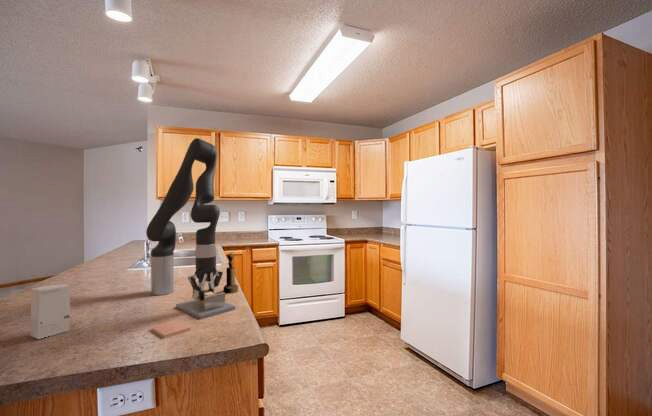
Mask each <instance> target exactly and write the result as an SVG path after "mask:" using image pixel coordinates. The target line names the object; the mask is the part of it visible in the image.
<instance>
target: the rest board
mask: <svg viewBox="0 0 652 416" xmlns="http://www.w3.org/2000/svg"><path fill="white" fill-rule="evenodd" d="M175 307H176V309H179V310H181V311H183V312H184V313H187V314H189V315H191V316H193V317H195V318H198V319H200V320H204V319H206V318H209V317H214V316H217V315H220V314H224V313H228V312H231V311H234V310H236V305H234V304H231V303H228V302H225V306H221V307H218V308H214V309H210V310H207V311H205V310H204V305H203V304H202V303H200V302H198V301H196V300H195V299H193V300H189V301H183V302H180V303H175Z"/></svg>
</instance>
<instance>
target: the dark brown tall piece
mask: <svg viewBox="0 0 652 416" xmlns="http://www.w3.org/2000/svg"><path fill="white" fill-rule="evenodd" d="M234 258H235V254H234V253H233V252H229V253H227V259H228V263H227V264H228V267H226V285H223V292H224V293H225V294H233V293H237V292H238V291H239V285H237V284H236V267H234V261H233V260H234ZM223 292H222V293H223Z"/></svg>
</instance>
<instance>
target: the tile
mask: <svg viewBox="0 0 652 416" xmlns="http://www.w3.org/2000/svg"><path fill="white" fill-rule="evenodd" d="M150 329H151V331H152V332H154V333H156V334H157V335H158V336H160V337H161V338H162V339H167V338H169V337H174V336H177V335H180V334H183V333H186V332H189V331H191V327H190V326H189V325H187V324H186V323H183V322H182V321H181V322H180V321H179V320H177V319H175V320H172V321H168V322H163V323H160V324H157V325H153V326H151V328H150Z"/></svg>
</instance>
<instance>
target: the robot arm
mask: <svg viewBox="0 0 652 416" xmlns="http://www.w3.org/2000/svg"><path fill="white" fill-rule="evenodd" d="M217 159H218V149H217V147H216V145H214V144H213V143H210V142H208V141H206V140H203V139H201V138H198V137H195V138H193V140H191V142H190V144H189V146H188V148H187V151H186V152H185V155H184V157H183V160H182V163H181V165H180V167H179V169H178V172H177V174H176V175H175V177H174V179H173V181H172V183H170V184H171V185H170V186H169V187H168V188H169V189H168V190H167V193H166V194H165V197H164V199H163V200H162V203H161V204H160V206H159V208H158V210H157V211H156V213H155V214H154V216H153V218H152V219H151V220H150V222H149V223H148V225H147V228H146V231H145V232H146V237H147V239H148V240H149V241H150V242H157V243H158V244H157V245H156V246H155V247H154V248H152V249H151V251H150V294H151V295H153V296H163V295H168V294H172V293H174V283H175V282H174V281H175V280H174V279H175V278H174V275H175V274H174V273H175V272H174V269H175V268H174V253H175V252H174V251H175V248H176V240H177V239H176V238H177V229H176V225H175V223H173V222H172V221H170V220H171V219H172V218H173V217H174V215H175V214H177V213H178V212H179V211H180V210H181V209H183V208H184V207H185V205H186V204H187V203H188V202H189V200H190V199H191V196H192V194H193V192H194V179H193V175H192V174H193V172H192V171H193V170H192V168H193V164H194V162H195V161H197V162H199V163H202V164H204V165H205V170H204V171H203V172H202V173H201V174H200V175H199V176H198V178H197V179H196V182H195V197H194V198H195V200H194V202H193V205H192V208H191V210H190V219H191V220H192V222H194V223H197V224H198V223H200V224H201V223H209V225H208V226H207V227H203V228H200V229H196V232H195V252H194V253H195V254H194V255H195V272H194V274H192V275H190V276H188V277H187V279H188V281H189V283H190V285H191V287H192V290H193V289H194V290H196V291H198V296H199V297H198V298H199V299H200V300H201V301H204V291H203V290H204V288H205V285H206V283H207V287H208V289H207V290H209V291H211V292H213V293H215V288H216V287H219V284H220V282H221V279H222V277H223V271H220V270H217V268H216V266H217V248H216V229H217V225H218V221H219V218H220V215H221V213H220V212H221V210H220V207H219V206H218V205H217V204H210V203H212V202H213V201H214V199H215V187H214V186H215V185H214V184H215V174H216V169H217V167H216V166H217V161H218V160H217ZM196 280H198V281H197V282H196Z"/></svg>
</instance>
